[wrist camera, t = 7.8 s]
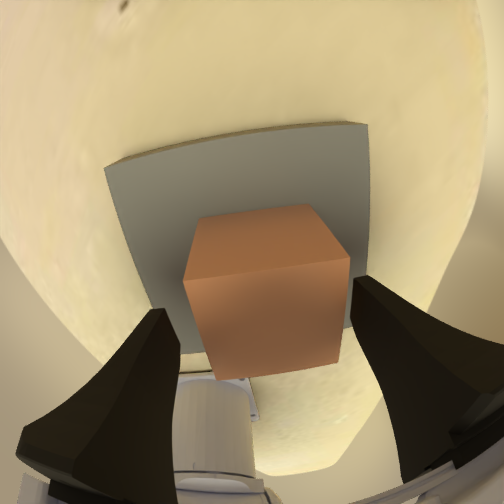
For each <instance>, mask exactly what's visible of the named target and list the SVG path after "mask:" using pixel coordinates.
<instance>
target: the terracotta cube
mask: <svg viewBox="0 0 504 504" xmlns="http://www.w3.org/2000/svg"><path fill="white" fill-rule="evenodd" d="M349 268H350V256H349V255H348V254H347V252H346V251H345V250H344V248H343V247H342V246H341V244H340V243H339V242H338V240H337V239H336V238H335V236H334V235H333V234H332V232H331V231H330V230H329V229H328V227H327V226H326V225H325V223H324V222H323V221H322V220H321V218H320V217H319V216H318V215H317V213H316V212H315V211H314V210H313V208H312V207H311V206H310V205H309V204H301V205H293V206H284V207H276V208H268V209H261V210H253V211H246V212H238V213H231V214H224V215H218V216H211V217H204V218H199V220H198V224H197V228H196V231H195V235H194V239H193V243H192V246H191V250H190V254H189V258H188V262H187V266H186V270H185V274H184V278H183V283H184V286H185V290H186V293H187V296H188V300H189V303H190V306H191V309H192V312H193V315H194V318H195V321H196V325H197V328H198V331H199V333H200V336H201V339H202V342H203V345H204V348H205V351H206V354H207V356H208V359H209V362H210V365H211V367H212V370H213V373H214V375H215V378H216V381H220V380H231V379H241V378H250V377H258V376H265V375H272V374H279V373H286V372H292V371H297V370H303V369H308V368H314V367H319V366H324V365H328V364H333V363H337V362H338V359H339V353H340V347H341V340H342V333H343V326H344V318H345V310H346V301H347V291H348V280H349Z"/></svg>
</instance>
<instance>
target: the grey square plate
mask: <svg viewBox="0 0 504 504" xmlns="http://www.w3.org/2000/svg"><path fill="white" fill-rule="evenodd" d="M104 171H105V175H106V179H107V182H108V186H109V189H110V193H111V196H112V199H113V203H114V206H115V209H116V212H117V215H118V218H119V221H120V224H121V227H122V230H123V233H124V236H125V239H126V242H127V245H128V247H129V250H130V253H131V255H132V258H133V261H134V263H135V266H136V268H137V271H138V274H139V276H140V279H141V281H142V283H143V286H144V288H145V291H146V293H147V295H148V298H149V300H150V302H151V305H152V307H153V309H157V308H165V309H166V312H167V314H168V316H169V319H170V321H171V324H172V326H173V328H174V330H175V333H176V335H177V337H178V339H179V342H180V344H181V351H180V354H190V353H201V352H206V351H205V348H204V345H203V342H202V339H201V336H200V333H199V331H198V328H197V325H196V321H195V318H194V315H193V312H192V309H191V306H190V303H189V300H188V296H187V293H186V290H185V286H184V283H183V278H184V274H185V270H186V266H187V262H188V258H189V254H190V250H191V246H192V243H193V239H194V235H195V231H196V228H197V224H198V220H199V218H204V217H211V216H218V215H224V214H231V213H238V212H246V211H253V210H261V209H268V208H276V207H284V206H293V205H301V204H309V205H310V206H311V207H312V208H313V210H314V211H315V212H316V213H317V215H318V216H319V217H320V218H321V220H322V221H323V222H324V223H325V225H326V226H327V227H328V229H329V230H330V231H331V232H332V234H333V235H334V236H335V238H336V239H337V240H338V242H339V243H340V244H341V246H342V247H343V248H344V250H345V251H346V252H347V254H348V255H349V256H350V268H349V280H348V291H347V301H346V310H345V318H344V326H343V329H344V328H349V327H353V326H352V323H351V320H350V309H351V299H352V288H353V278H355V277H360V276H365V275H366V269H367V257H368V241H369V219H370V160H369V138H368V124H362V123H355V122H348V121H342V122H323V123H308V124H297V125H287V126H277V127H269V128H261V129H254V130H247V131H241V132H235V133H229V134H223V135H217V136H212V137H207V138H202V139H197V140H192V141H188V142H183V143H179V144H175V145H170V146H166V147H162V148H158V149H154V150H151V151H147V152H143V153H140V154H136V155H133V156H129V157H126V158H123V159H120V160H118V161H117V162H115V163H113V164H111V165H109V166H107V167H105V168H104Z"/></svg>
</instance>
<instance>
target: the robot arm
mask: <svg viewBox="0 0 504 504" xmlns="http://www.w3.org/2000/svg"><path fill="white" fill-rule="evenodd" d="M350 320H351V323H352V326H353V329H354V332H355V335H356V337H357V340H358V342H359V344H360V346H361V348H362V350H363V352H364V354H365V356H366V358H367V360H368V362H369V364H370V366H371V368H372V370H373V372H374V374H375V377H376V379H377V381H378V383H379V385H380V388H381V390H382V393H383V396H384V399H385V402H386V405H387V409H388V412H389V416H390V419H391V423H392V427H393V431H394V436H395V440H396V445H397V450H398V457H399V463H400V471H401V477H402V480H403V483H404V484H403V485H401V486H398V487H396V488H393V489H391V490H388V491H386V492H383V493H380V494H378V495H375V496H372V497H369V498H366V499H363V500H360V501H356V502H353V503H349V504H401V503H403V502H405V501H407V500H410V499H412V498H414V497H416V496H418V495H420V494H421V495H420V496H419V497H418V500H417V502H416V503H415V504H503V503H504V345H503V344H499V343H495V342H492V341H488V340H485V339H482V338H479V337H476V336H473V335H471V334H468V333H466V332H463V331H461V330H459V329H456V328H454V327H452V326H450V325H448V324H446V323H444V322H442V321H440V320H438V319H436V318H434V317H432V316H430V315H429V314H427V313H425V312H424V311H422V310H420V309H419V308H417V307H415V306H414V305H412V304H411V303H409V302H408V301H406V300H405V299H403V298H402V297H400V296H399V295H397V294H396V293H394V292H393V291H391V290H390V289H388V288H387V287H385V286H384V285H382V284H381V283H379V282H378V281H376V280H375V279H373V278H372V277H370V276H368V275H365V276H360V277H355V278H353V288H352V299H351V309H350ZM180 351H181V344H180V342H179V339H178V337H177V335H176V333H175V330H174V328H173V326H172V324H171V321H170V319H169V316H168V314H167V312H166V309H165V308H157V309H150V310H149V312H148V313H147V314H146V315H145V316H144V318H143V319H142V320H141V321H140V323H139V324H138V325H137V326H136V328H135V329H134V330H133V332H132V333H131V334H130V335H129V337H128V338H127V339H126V340H125V342H124V343H123V344H122V345H121V347H120V348H119V349H118V350H117V351H116V352H115V354H114V355H113V356H112V357H111V358H110V359H109V361H108V362H107V363H106V364H105V365H104V366H103V367H102V369H101V370H100V371H99V372H98V373H97V374H96V375H95V376H94V377H93V378H92V379H91V380H90V381H89V382H88V383H87V384H85V385H84V386H83V387H82V388H81V389H80V390H78V391H77V392H76V393H75V394H74V395H73V396H71V397H70V398H69V399H68V400H66V401H65V402H64V403H62V404H61V405H60V406H58V407H57V408H55V409H54V410H52V411H51V412H49V413H48V414H46V415H45V416H43V417H41V418H39V419H38V420H36V421H34V422H32V423H30V424H29V425H27V426H25V427H24V428H23V431H22V434H21V437H20V440H19V443H18V446H17V450H16V456H17V457H18V458H19V459H20V460H21V461H22V462H24V463H25V464H27V465H28V466H30V467H31V468H33V469H34V470H36V471H38V472H39V473H41V474H43V475H44V476H46V477H48V478H50V479H51V480H50V484H48V483H46V482H43V481H41V480H39V479H37V478H35V477H33V476H31V475H28V474H26V473H24V474H23V478H22V482H21V486H20V491H19V496H18V501H17V504H283V503H282V501H281V499H280V497H279V496H278V495H277V494H276V493H275V492H274V491H273V490H272V489H270V488H268V487H264V483H263V479H256V473H255V462H254V451H253V440H252V428H251V422H252V421H258V420H259V419H260V417H259V413H258V409H257V406H256V402H255V399H254V395H253V392H252V388H251V385H250V381H249V378H241V379H231V380H220V381H216V378H215V375H214V373H213V372H204V373H191V374H179V370H180ZM422 493H423V494H422Z"/></svg>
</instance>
